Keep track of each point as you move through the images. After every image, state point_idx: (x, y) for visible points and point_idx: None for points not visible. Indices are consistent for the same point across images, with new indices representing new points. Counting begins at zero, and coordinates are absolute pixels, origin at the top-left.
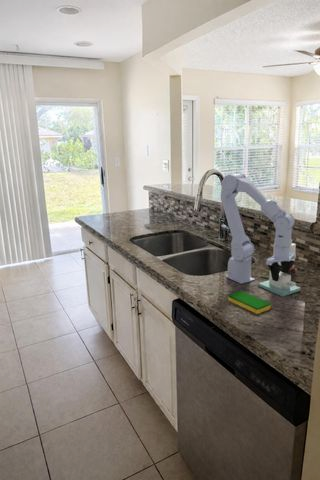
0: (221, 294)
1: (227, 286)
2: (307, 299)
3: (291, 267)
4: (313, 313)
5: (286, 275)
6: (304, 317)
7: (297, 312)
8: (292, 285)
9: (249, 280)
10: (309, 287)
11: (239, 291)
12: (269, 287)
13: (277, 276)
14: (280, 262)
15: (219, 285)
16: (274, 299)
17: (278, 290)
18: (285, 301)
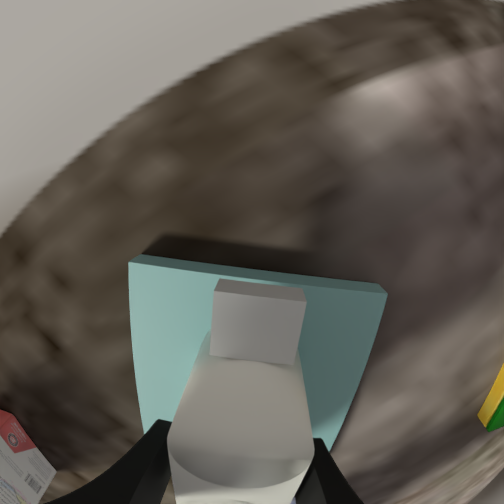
0: (490, 442)
1: (410, 489)
2: (267, 102)
3: (79, 490)
4: (435, 4)
5: (227, 451)
6: (501, 39)
7: (497, 82)
8: (286, 292)
9: (294, 501)
10: (44, 239)
11: (500, 425)
12: (339, 418)
13: (340, 475)
14: (24, 468)
15: (414, 498)
16: (454, 290)
17: (351, 354)
18: (440, 215)
